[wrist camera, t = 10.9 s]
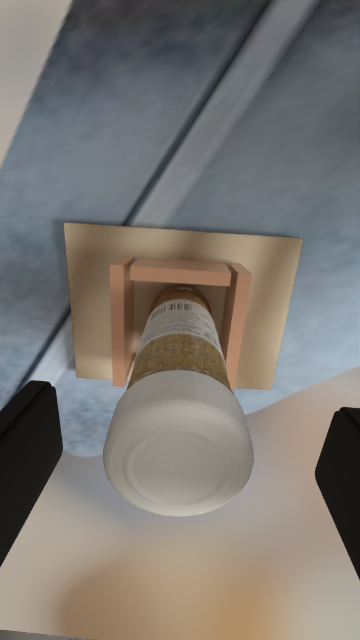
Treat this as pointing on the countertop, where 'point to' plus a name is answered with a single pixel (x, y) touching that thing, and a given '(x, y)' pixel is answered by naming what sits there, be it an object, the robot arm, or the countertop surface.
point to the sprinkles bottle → (178, 416)
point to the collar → (175, 272)
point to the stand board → (116, 241)
